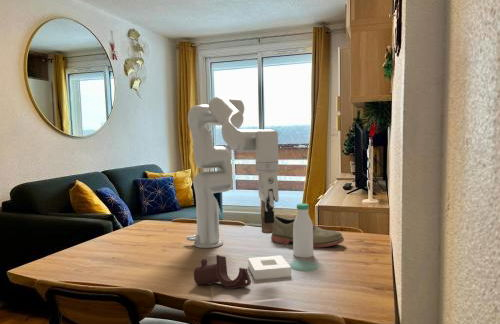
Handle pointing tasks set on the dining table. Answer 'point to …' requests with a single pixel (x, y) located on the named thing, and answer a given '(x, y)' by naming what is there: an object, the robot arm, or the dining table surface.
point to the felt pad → (303, 266)
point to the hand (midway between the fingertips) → (267, 220)
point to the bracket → (219, 274)
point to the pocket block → (269, 267)
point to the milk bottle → (303, 233)
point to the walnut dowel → (266, 227)
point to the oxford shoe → (320, 236)
